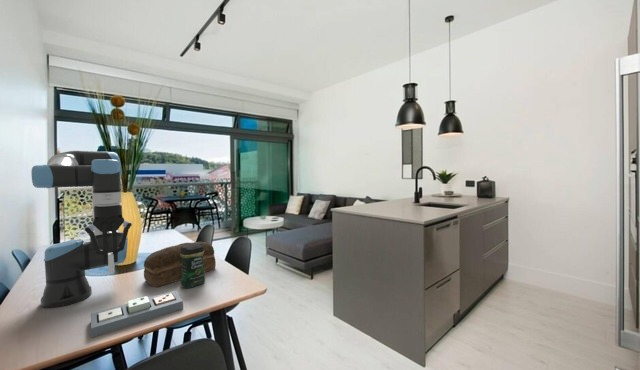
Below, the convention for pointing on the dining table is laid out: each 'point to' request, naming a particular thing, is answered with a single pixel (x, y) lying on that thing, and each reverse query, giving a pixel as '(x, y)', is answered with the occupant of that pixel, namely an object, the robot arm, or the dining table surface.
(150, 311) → the console
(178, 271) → the bread
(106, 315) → the button one
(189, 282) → the coffee jar
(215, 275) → the dining table surface
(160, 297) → the button three
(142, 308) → the button two
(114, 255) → the robot arm
